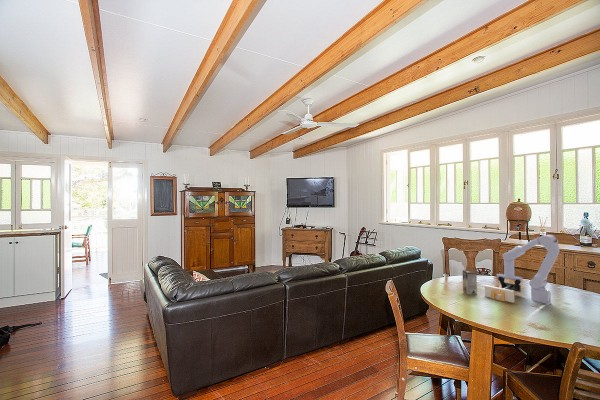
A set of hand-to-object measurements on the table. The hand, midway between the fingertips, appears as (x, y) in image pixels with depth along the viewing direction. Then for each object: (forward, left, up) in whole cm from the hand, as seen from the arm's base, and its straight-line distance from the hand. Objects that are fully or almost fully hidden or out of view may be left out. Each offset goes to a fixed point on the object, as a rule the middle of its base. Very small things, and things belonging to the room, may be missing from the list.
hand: (509, 289), depth 199 cm
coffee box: (+18, +18, -5) cm, 26 cm away
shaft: (0, +5, -1) cm, 5 cm away
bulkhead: (0, +18, -4) cm, 19 cm away
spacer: (0, +20, -4) cm, 20 cm away
